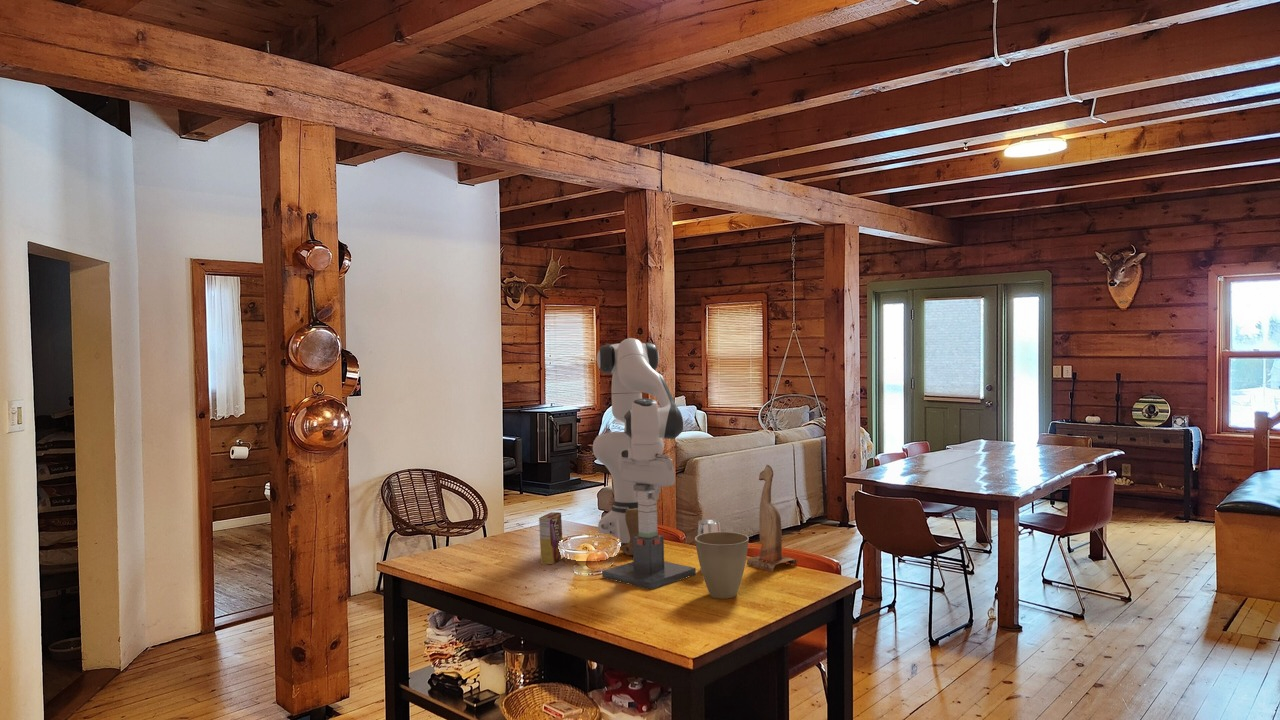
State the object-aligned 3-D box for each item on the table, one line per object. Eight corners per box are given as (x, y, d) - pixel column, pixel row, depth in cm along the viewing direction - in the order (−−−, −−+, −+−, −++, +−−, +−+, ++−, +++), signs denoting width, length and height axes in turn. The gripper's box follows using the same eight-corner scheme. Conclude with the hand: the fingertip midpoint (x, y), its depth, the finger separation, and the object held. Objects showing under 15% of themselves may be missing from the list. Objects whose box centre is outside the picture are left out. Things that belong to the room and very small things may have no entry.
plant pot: (687, 591, 232) (686, 535, 232) (734, 584, 237) (733, 529, 237) (710, 606, 218) (709, 546, 218) (759, 599, 223) (758, 540, 223)
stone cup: (643, 544, 288) (642, 502, 288) (667, 550, 280) (666, 506, 279) (611, 553, 278) (610, 508, 277) (635, 559, 269) (634, 513, 269)
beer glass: (713, 574, 249) (712, 524, 249) (694, 570, 253) (693, 522, 253) (725, 568, 254) (724, 520, 254) (706, 565, 259) (705, 518, 258)
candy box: (552, 557, 274) (550, 511, 274) (563, 558, 272) (562, 512, 272) (539, 564, 265) (538, 517, 265) (551, 565, 264) (550, 517, 264)
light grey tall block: (635, 548, 247) (633, 484, 247) (650, 544, 252) (649, 481, 252) (645, 551, 244) (644, 486, 244) (661, 546, 249) (660, 483, 249)
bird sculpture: (769, 559, 265) (764, 461, 265) (798, 565, 256) (793, 463, 256) (746, 566, 258) (740, 465, 258) (774, 572, 249) (769, 467, 249)
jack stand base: (602, 577, 248) (601, 537, 248) (647, 563, 262) (646, 526, 262) (650, 589, 234) (649, 547, 234) (695, 574, 249) (694, 535, 248)
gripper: (679, 454, 243) (680, 500, 243) (629, 449, 257) (630, 493, 257) (664, 456, 238) (666, 503, 239) (615, 451, 252) (616, 496, 253)
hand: (647, 498), depth 248 cm, fingers open, 5 cm apart
